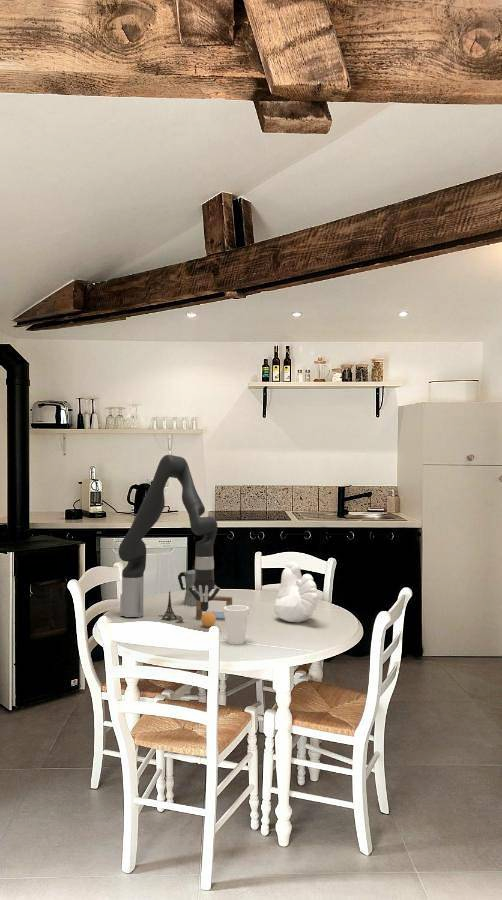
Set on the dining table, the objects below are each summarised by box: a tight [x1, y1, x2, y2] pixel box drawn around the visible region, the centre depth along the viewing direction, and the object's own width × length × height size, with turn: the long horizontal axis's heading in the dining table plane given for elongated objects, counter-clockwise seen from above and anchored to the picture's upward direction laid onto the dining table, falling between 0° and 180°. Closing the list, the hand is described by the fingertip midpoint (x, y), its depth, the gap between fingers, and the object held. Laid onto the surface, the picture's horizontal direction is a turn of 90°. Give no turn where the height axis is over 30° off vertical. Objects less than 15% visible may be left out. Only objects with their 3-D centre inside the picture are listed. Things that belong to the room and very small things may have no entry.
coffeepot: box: [177, 565, 200, 607], centre depth 335 cm, size 15×9×18 cm, turn 129°
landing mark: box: [206, 610, 225, 620], centre depth 314 cm, size 12×12×1 cm
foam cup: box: [223, 604, 250, 646], centre depth 271 cm, size 10×9×13 cm
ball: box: [200, 611, 217, 628], centre depth 294 cm, size 6×6×6 cm
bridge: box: [195, 595, 233, 621], centre depth 306 cm, size 3×15×10 cm, turn 82°
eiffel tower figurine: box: [158, 590, 185, 624], centre depth 306 cm, size 15×10×13 cm
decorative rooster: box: [273, 560, 319, 623], centre depth 303 cm, size 25×16×25 cm, turn 16°
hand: (204, 611), depth 285 cm, fingers closed
